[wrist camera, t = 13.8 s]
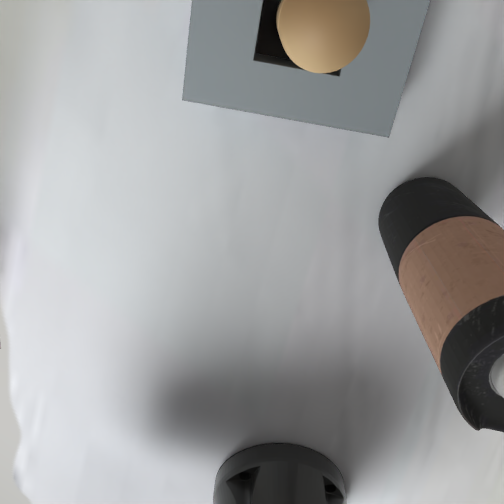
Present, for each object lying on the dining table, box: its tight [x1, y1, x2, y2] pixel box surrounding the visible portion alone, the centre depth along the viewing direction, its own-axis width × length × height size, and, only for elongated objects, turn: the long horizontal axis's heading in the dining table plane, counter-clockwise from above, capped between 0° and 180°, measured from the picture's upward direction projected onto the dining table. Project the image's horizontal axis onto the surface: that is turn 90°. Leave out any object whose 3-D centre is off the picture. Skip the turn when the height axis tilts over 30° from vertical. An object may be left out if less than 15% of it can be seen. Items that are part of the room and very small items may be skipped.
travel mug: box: [379, 177, 504, 432], centre depth 31 cm, size 8×8×20 cm
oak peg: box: [276, 0, 370, 73], centre depth 28 cm, size 4×4×14 cm
